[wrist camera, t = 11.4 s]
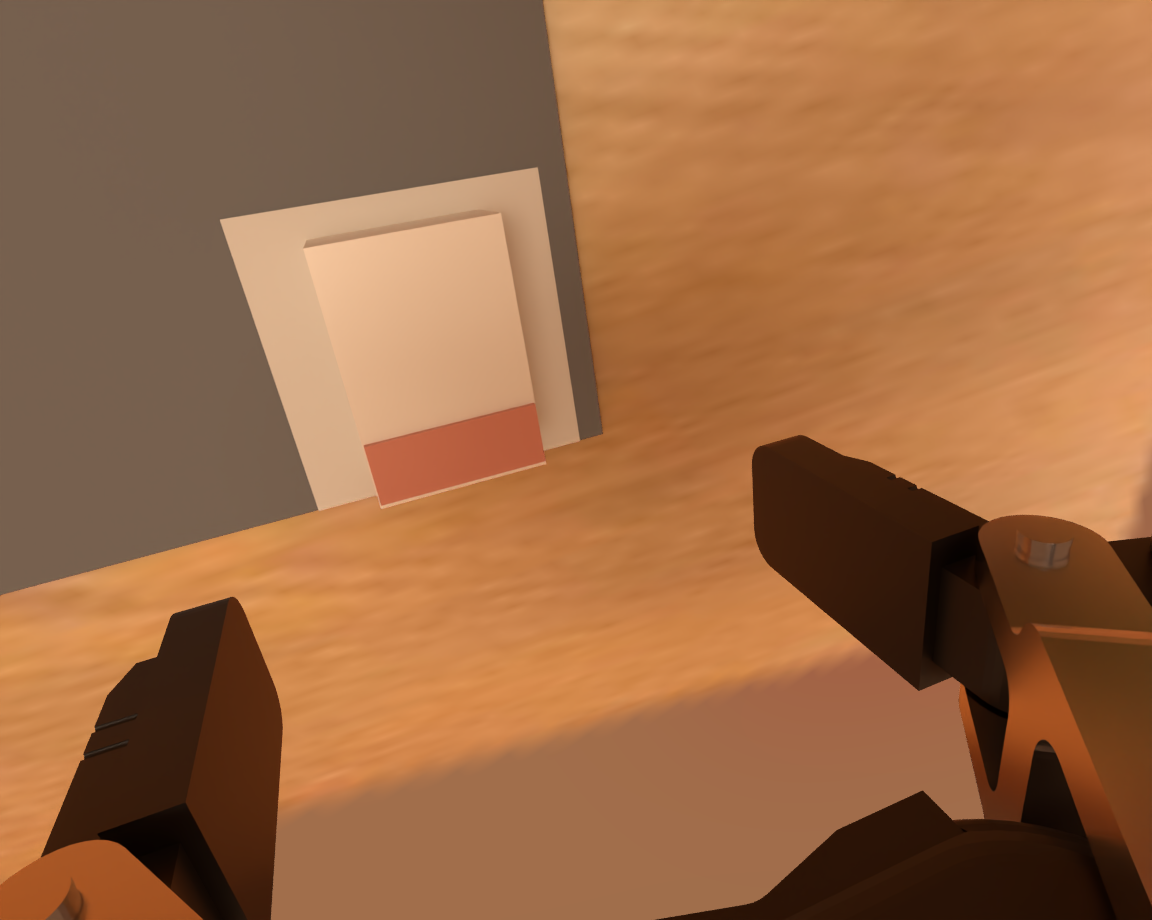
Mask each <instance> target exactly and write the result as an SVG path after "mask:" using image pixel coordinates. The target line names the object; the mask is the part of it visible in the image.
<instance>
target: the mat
mask: <svg viewBox="0 0 1152 920" xmlns="http://www.w3.org/2000/svg"><path fill="white" fill-rule="evenodd" d="M476 209H479V210H485V211H492V212H498V213H501V216H502V221H503V227H504V232H505V238H506V243H507V249H508V255H509V260H510V266H511V271H512V277H513V282H514V288H515V293H516V299H517V304H518V310H519V315H520V321H521V327H522V332H523V338H524V343H525V349H526V354H527V360H528V365H529V371H530V376H531V382H532V387H533V393H534V399H535V404H536V410H537V415H538V421H539V426H540V432H541V437H542V443H543V448H544V451H545V450H549V449H552V448H556V447H560V446H564V445H567V444H571V443H575V442H579V441H580V440H582V439H586V438H590V437H593V436H597V435H601V434H603V432H602V424H601V417H600V410H599V403H598V396H597V389H596V381H595V374H594V367H593V360H592V353H591V345H590V338H589V331H588V324H587V317H586V310H585V302H584V295H583V288H582V281H581V274H580V266H579V259H578V252H577V245H576V238H575V231H574V223H573V216H572V209H571V202H570V195H569V187H568V180H567V173H566V166H565V159H564V152H563V144H562V137H561V130H560V123H559V116H558V109H557V101H556V94H555V87H554V80H553V73H552V65H551V58H550V51H549V44H548V37H547V30H546V22H545V15H544V8H543V1H542V0H0V595H2V594H6V593H10V592H13V591H17V590H21V589H25V588H28V587H32V586H36V585H39V584H43V583H47V582H51V581H54V580H58V579H62V578H66V577H69V576H73V575H77V574H81V573H84V572H88V571H92V570H96V569H99V568H103V567H107V566H111V565H114V564H118V563H122V562H126V561H129V560H133V559H137V558H141V557H144V556H148V555H152V554H156V553H159V552H163V551H167V550H170V549H174V548H178V547H182V546H185V545H189V544H193V543H197V542H200V541H204V540H208V539H212V538H215V537H219V536H223V535H227V534H230V533H234V532H238V531H242V530H245V529H249V528H253V527H257V526H260V525H264V524H268V523H272V522H275V521H279V520H283V519H287V518H290V517H294V516H298V515H301V514H305V513H309V512H313V511H316V510H319V511H321V510H324V509H328V508H332V507H336V506H339V505H343V504H347V503H351V502H354V501H358V500H362V499H366V498H369V497H373V496H377V494H376V491H375V488H374V484H373V481H372V478H371V474H370V471H369V468H368V464H367V461H366V457H365V454H364V451H363V447H362V444H361V441H360V437H359V434H358V431H357V427H356V424H355V421H354V417H353V414H352V411H351V407H350V404H349V401H348V397H347V394H346V391H345V387H344V384H343V381H342V377H341V374H340V371H339V367H338V364H337V360H336V357H335V354H334V350H333V347H332V344H331V340H330V337H329V334H328V330H327V327H326V324H325V320H324V317H323V314H322V310H321V307H320V304H319V300H318V297H317V294H316V290H315V287H314V284H313V280H312V277H311V274H310V270H309V267H308V264H307V260H306V257H305V253H304V250H303V247H304V245H305V242H306V240H307V239H313V238H318V237H324V236H330V235H335V234H341V233H347V232H352V231H358V230H363V229H369V228H375V227H380V226H386V225H392V224H397V223H403V222H409V221H414V220H420V219H426V218H431V217H437V216H442V215H448V214H454V213H459V212H465V211H471V210H476Z"/></svg>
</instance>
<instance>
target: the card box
mask: <svg viewBox="0 0 1152 920" xmlns="http://www.w3.org/2000/svg"><path fill="white" fill-rule="evenodd" d="M303 250H304V253H305V257H306V260H307V264H308V267H309V270H310V274H311V277H312V280H313V284H314V287H315V290H316V294H317V297H318V300H319V304H320V307H321V310H322V314H323V317H324V320H325V324H326V327H327V330H328V334H329V337H330V340H331V344H332V347H333V350H334V354H335V357H336V360H337V364H338V367H339V371H340V374H341V377H342V381H343V384H344V387H345V391H346V394H347V397H348V401H349V404H350V407H351V411H352V414H353V417H354V421H355V424H356V427H357V431H358V434H359V437H360V441H361V444H362V447H363V451H364V454H365V457H366V461H367V464H368V468H369V471H370V474H371V478H372V481H373V484H374V488H375V491H376V494H377V498H378V501H379V504H380V508H381V509H383V508H387V507H391V506H394V505H398V504H402V503H405V502H409V501H413V500H416V499H420V498H424V497H427V496H431V495H435V494H438V493H442V492H446V491H449V490H453V489H457V488H460V487H464V486H468V485H471V484H475V483H478V482H482V481H486V480H489V479H493V478H497V477H500V476H504V475H508V474H511V473H515V472H519V471H522V470H526V469H530V468H533V467H537V466H541V465H544V464H546V460H545V454H544V448H543V443H542V437H541V432H540V426H539V421H538V415H537V410H536V404H535V399H534V393H533V387H532V382H531V376H530V371H529V365H528V360H527V354H526V349H525V343H524V338H523V332H522V327H521V321H520V315H519V310H518V304H517V299H516V293H515V288H514V282H513V277H512V271H511V266H510V260H509V255H508V249H507V243H506V238H505V232H504V227H503V221H502V216H501V213H498V212H492V211H485V210H479V209H476V210H471V211H465V212H459V213H454V214H448V215H442V216H437V217H431V218H426V219H420V220H414V221H409V222H403V223H397V224H392V225H386V226H380V227H375V228H369V229H363V230H358V231H352V232H347V233H341V234H335V235H330V236H324V237H318V238H313V239H307V240H306V242H305V245H304V247H303Z"/></svg>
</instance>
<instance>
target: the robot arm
mask: <svg viewBox="0 0 1152 920" xmlns="http://www.w3.org/2000/svg"><path fill="white" fill-rule="evenodd" d="M752 477H753V505H754V531H755V538H756V541H757V545H758V547H759V550H760V552H761V554H762V556H763V557H764V559H765V560H766V562H767V563H768V564H769V565H770V566H771V567H772V568H773V569H774V570H775V571H776V572H778V573H779V574H780V575H781V576H782V577H784V578H785V579H786V580H787V581H788V582H790V583H791V584H792V585H793V586H794V587H796V588H797V589H798V590H799V591H800V592H802V593H803V594H804V595H805V596H806V597H807V598H809V599H810V600H811V601H812V602H813V603H815V604H816V605H817V606H818V607H819V608H821V609H822V610H823V611H824V612H825V613H827V614H828V615H829V616H830V617H831V618H832V619H834V620H835V621H836V622H837V623H838V624H840V625H841V626H842V627H843V628H844V629H846V630H847V631H848V632H849V633H850V634H852V635H853V636H854V637H855V638H856V639H857V640H859V641H860V642H861V643H862V644H863V645H865V646H866V647H867V648H868V649H869V650H871V651H872V652H873V653H874V654H875V655H877V656H878V657H879V658H880V659H881V660H883V661H884V662H885V663H886V664H887V665H889V666H890V667H891V668H892V669H894V671H896V672H897V673H898V674H899V675H900V676H902V677H903V678H904V679H905V680H906V681H908V682H909V683H910V684H911V685H913V687H915V688H916V689H917V690H918V691H920V690H922V689H925V688H927V687H929V686H932V685H934V684H936V683H939V682H941V681H944V680H946V679H948V678H951V677H954V678H955V679H956V680H957V681H959V682H960V691H959V699H958V702H959V709H960V713H961V718H962V721H963V726H964V730H965V735H966V739H967V744H968V748H969V753H970V757H971V761H972V766H973V770H974V774H975V778H976V783H977V787H978V792H979V796H980V800H981V805H982V809H983V814H984V819H963V820H952V819H951V818H950V817H949V816H948V815H947V814H946V813H944V811H943V810H942V809H941V808H940V807H939V806H938V805H937V804H936V803H935V802H934V801H933V800H932V799H931V798H930V797H929V796H928V795H927V794H926V793H925V792H924V791H920V792H918V793H916V794H914V795H912V796H910V797H908V798H905V799H904V800H901V801H899V802H897V803H895V804H892V805H890V806H888V807H886V808H884V809H882V810H879V811H877V812H875V813H873V814H871V815H869V816H866V817H864V818H862V819H860V820H858V821H856V822H853V823H851V824H849V825H847V826H845V827H843V828H841V829H838V830H837V831H835V832H834V833H833V834H832V835H831V836H830V837H829V838H828V839H827V840H826V841H825V842H823V844H821V845H820V846H819V847H818V848H817V849H816V850H815V851H814V852H813V853H811V854H810V855H809V856H808V857H807V858H806V859H805V860H804V861H803V862H802V863H801V864H799V866H798V867H796V868H795V869H794V870H793V871H792V872H791V873H790V874H789V875H788V876H786V877H785V878H784V879H783V880H782V881H781V882H780V883H779V884H778V885H777V886H776V887H774V888H773V889H772V890H771V891H770V892H769V893H768V894H767V895H765V896H764V897H763V898H761V899H760V900H758V901H756V902H754V903H750V904H747V905H741V906H735V907H729V908H723V909H717V910H712V911H705V912H699V913H693V914H688V915H681V916H675V917H669V918H664V919H657V920H1152V536H1151V537H1147V538H1137V539H1127V540H1118V541H1109V542H1107V541H1106V540H1105V539H1104V538H1103V537H1101V536H1100V535H1099V534H1097V533H1095V532H1094V531H1092V530H1090V529H1088V528H1086V527H1083V526H1081V525H1078V524H1075V523H1073V522H1069V521H1066V520H1062V519H1057V518H1053V517H1046V516H1038V515H1013V516H1005V517H1000V518H997V519H994V520H991V521H987V520H985V519H983V518H981V517H979V516H977V515H975V514H973V513H971V512H969V511H967V510H965V509H963V508H961V507H959V506H957V505H955V504H953V503H951V502H949V501H947V500H945V499H943V498H941V497H939V496H937V495H935V494H933V493H931V492H929V491H927V490H925V489H923V488H920V489H917V486H916V485H915V484H913V483H911V482H909V481H907V480H905V479H903V478H901V477H900V478H896V476H895V474H893V473H891V472H889V471H887V470H885V469H883V468H881V467H879V466H877V465H875V464H873V463H871V462H868V461H864V460H860V459H855V458H851V457H847V456H843V455H841V454H839V453H837V452H835V451H833V450H831V449H829V448H827V447H825V446H824V445H822V444H820V443H818V442H816V441H814V440H812V439H810V438H808V437H806V436H803V435H798V436H794V437H791V438H787V439H784V440H780V441H777V442H773V443H770V444H766V445H763V446H760V447H758V448H757V449H756V450H755V452H754V454H753V459H752ZM282 730H283V726H282V715H281V708H280V703H279V699H278V695H277V692H276V688H275V686H274V683H273V680H272V678H271V676H270V673H269V671H268V668H267V666H266V663H265V661H264V658H263V656H262V654H261V651H260V649H259V646H258V644H257V641H256V639H255V637H254V634H253V632H252V629H251V627H250V624H249V622H248V620H247V617H246V615H245V612H244V610H243V608H242V606H241V604H240V603H239V601H238V600H237V599H236V598H235V597H230V598H226V599H223V600H219V601H216V602H212V603H209V604H205V605H202V606H198V607H195V608H191V609H188V610H184V611H181V612H178V613H175V614H173V615H172V616H171V618H170V620H169V623H168V626H167V629H166V632H165V635H164V638H163V641H162V644H161V647H160V650H159V653H158V656H157V657H156V658H152V659H149V660H146V661H142V662H139V663H136V664H135V665H134V666H133V668H132V669H131V670H130V671H129V672H128V673H127V674H126V675H125V676H124V678H123V679H122V680H121V681H120V682H119V683H118V684H117V685H116V686H115V688H114V689H113V690H112V691H111V692H110V693H109V694H108V695H107V698H106V700H105V703H104V705H103V707H102V710H101V712H100V715H99V717H98V720H97V722H96V724H95V733H92V734H91V737H90V739H89V741H88V744H87V746H86V749H85V751H84V760H82V761H80V763H79V766H78V768H77V771H76V773H75V776H74V778H73V780H72V783H71V785H70V788H69V790H68V793H67V795H66V797H65V800H64V802H63V805H62V807H61V810H60V812H59V814H58V817H57V819H56V822H55V824H54V827H53V829H52V831H51V834H50V836H49V839H48V841H47V844H46V846H45V848H44V851H43V853H42V856H41V858H39V859H38V860H36V861H34V862H33V863H31V864H29V865H28V866H26V867H24V868H23V869H21V870H20V871H18V872H17V873H15V874H14V875H13V876H11V877H10V878H8V879H7V880H6V881H5V882H3V883H2V884H1V885H0V920H271V905H272V889H273V874H274V858H275V842H276V826H277V811H278V795H279V779H280V763H281V747H282Z"/></svg>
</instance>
